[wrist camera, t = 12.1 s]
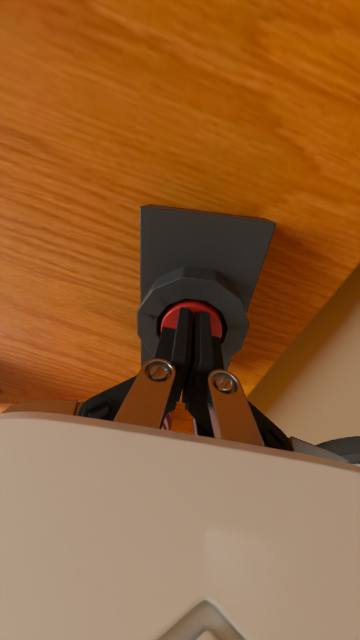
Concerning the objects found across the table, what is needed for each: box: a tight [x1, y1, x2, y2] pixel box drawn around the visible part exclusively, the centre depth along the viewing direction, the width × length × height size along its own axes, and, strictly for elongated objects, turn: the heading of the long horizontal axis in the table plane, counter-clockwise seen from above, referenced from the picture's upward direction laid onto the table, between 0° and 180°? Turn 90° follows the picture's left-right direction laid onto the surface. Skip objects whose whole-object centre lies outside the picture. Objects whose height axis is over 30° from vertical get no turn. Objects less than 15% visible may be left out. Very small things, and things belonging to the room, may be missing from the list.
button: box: [161, 299, 222, 339], centre depth 12 cm, size 4×4×2 cm
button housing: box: [137, 204, 276, 371], centre depth 13 cm, size 12×7×4 cm, turn 174°
